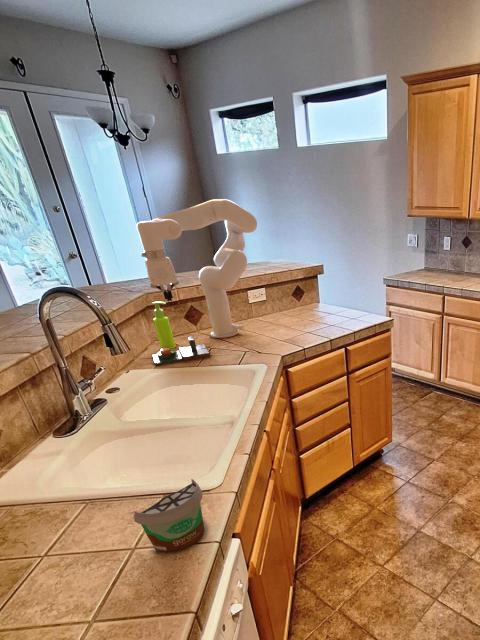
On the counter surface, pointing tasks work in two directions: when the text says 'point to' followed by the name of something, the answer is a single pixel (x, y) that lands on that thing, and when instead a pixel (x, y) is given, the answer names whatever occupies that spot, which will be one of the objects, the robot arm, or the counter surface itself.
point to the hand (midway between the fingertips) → (169, 300)
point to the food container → (174, 520)
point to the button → (165, 351)
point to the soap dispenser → (163, 327)
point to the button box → (167, 358)
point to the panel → (194, 353)
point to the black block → (192, 344)
